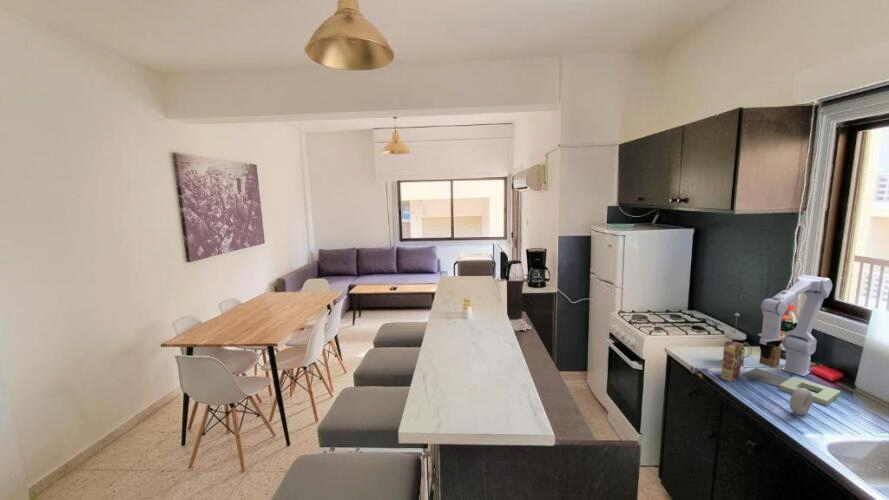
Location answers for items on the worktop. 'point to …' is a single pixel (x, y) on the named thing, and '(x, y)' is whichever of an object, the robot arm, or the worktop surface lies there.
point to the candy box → (731, 361)
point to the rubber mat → (766, 377)
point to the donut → (801, 401)
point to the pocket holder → (822, 397)
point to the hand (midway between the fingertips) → (768, 356)
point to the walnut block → (772, 358)
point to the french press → (735, 337)
